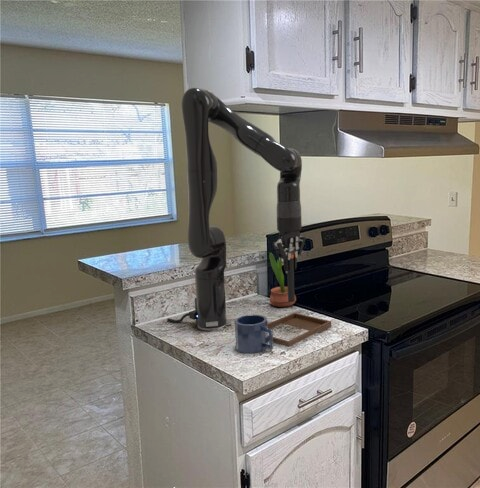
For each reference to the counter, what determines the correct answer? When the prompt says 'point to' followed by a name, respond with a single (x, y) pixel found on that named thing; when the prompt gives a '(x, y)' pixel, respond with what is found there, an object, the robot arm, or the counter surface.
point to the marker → (291, 281)
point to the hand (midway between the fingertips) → (290, 270)
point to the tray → (301, 322)
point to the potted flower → (280, 293)
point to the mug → (252, 334)
